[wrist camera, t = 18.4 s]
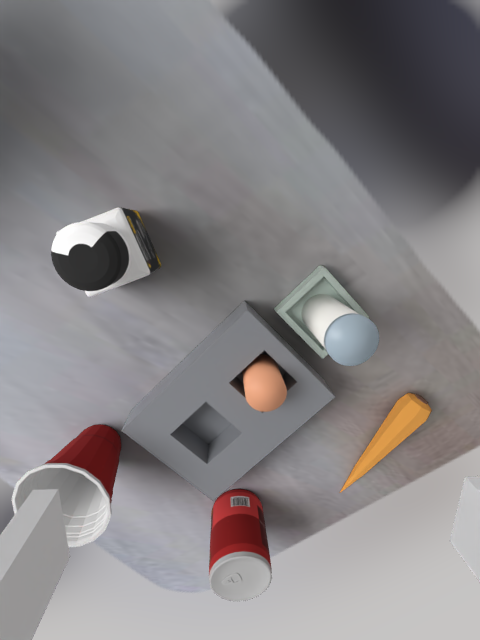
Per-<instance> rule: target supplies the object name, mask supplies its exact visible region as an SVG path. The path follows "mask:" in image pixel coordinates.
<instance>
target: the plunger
mask: <svg viewBox="0 0 480 640" xmlns="http://www.w3.org/2000/svg"><path fill="white" fill-rule="evenodd" d="M242 375H243V382H244V389H245V396H246V400H247V402H248V404H249V405H250V406H251V407H252V408H254V409H255V410H258V411H262V412H268V411H272V410H275V409H277V408H278V407H280V406H281V405H282V404H283V402H284V401H285V399H286V396H287V389H286V385H285V383H284V380H283V378H282V375H281V373H280V370H279V368H278V365H277V363H276V362H275V360H274V359H273V358H272V357H270V356H268V355H264V354H260V355H259V356H258V357H256V358H255V359H254V360H253V361H252V362H251V363H250V364H249V365H248V366H247V367H246V368H245V369H243V370H242Z"/></svg>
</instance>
